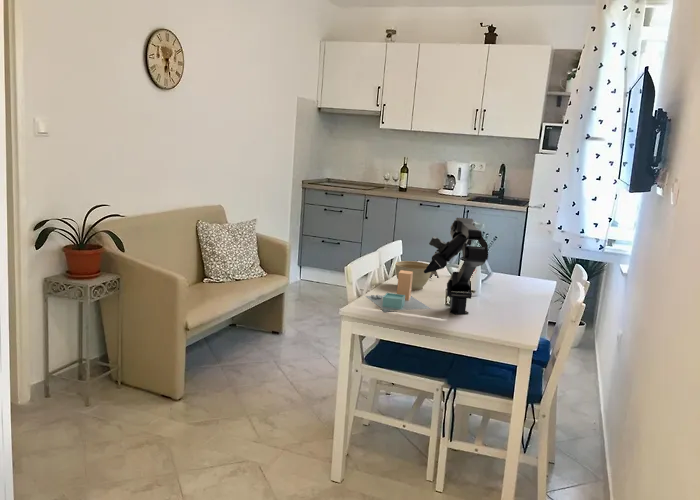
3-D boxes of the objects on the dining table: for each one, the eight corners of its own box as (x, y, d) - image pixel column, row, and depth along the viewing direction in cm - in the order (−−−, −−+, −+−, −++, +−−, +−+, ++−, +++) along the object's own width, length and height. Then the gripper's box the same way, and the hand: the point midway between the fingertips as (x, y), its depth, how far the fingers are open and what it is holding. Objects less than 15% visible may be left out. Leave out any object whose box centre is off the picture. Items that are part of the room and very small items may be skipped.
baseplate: (431, 310, 240) (432, 299, 240) (384, 312, 233) (385, 300, 233) (409, 296, 259) (410, 286, 258) (364, 297, 252) (365, 287, 251)
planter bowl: (427, 285, 281) (430, 262, 279) (431, 294, 265) (434, 270, 263) (392, 282, 281) (394, 259, 279) (394, 291, 265) (396, 267, 263)
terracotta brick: (410, 297, 254) (412, 271, 252) (408, 300, 249) (410, 274, 247) (398, 296, 255) (400, 270, 253) (396, 298, 250) (398, 272, 248)
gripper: (444, 227, 253) (415, 251, 257) (440, 233, 235) (409, 258, 239) (462, 248, 252) (432, 272, 257) (459, 255, 235) (428, 280, 239)
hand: (425, 270), depth 248 cm, fingers open, 9 cm apart
